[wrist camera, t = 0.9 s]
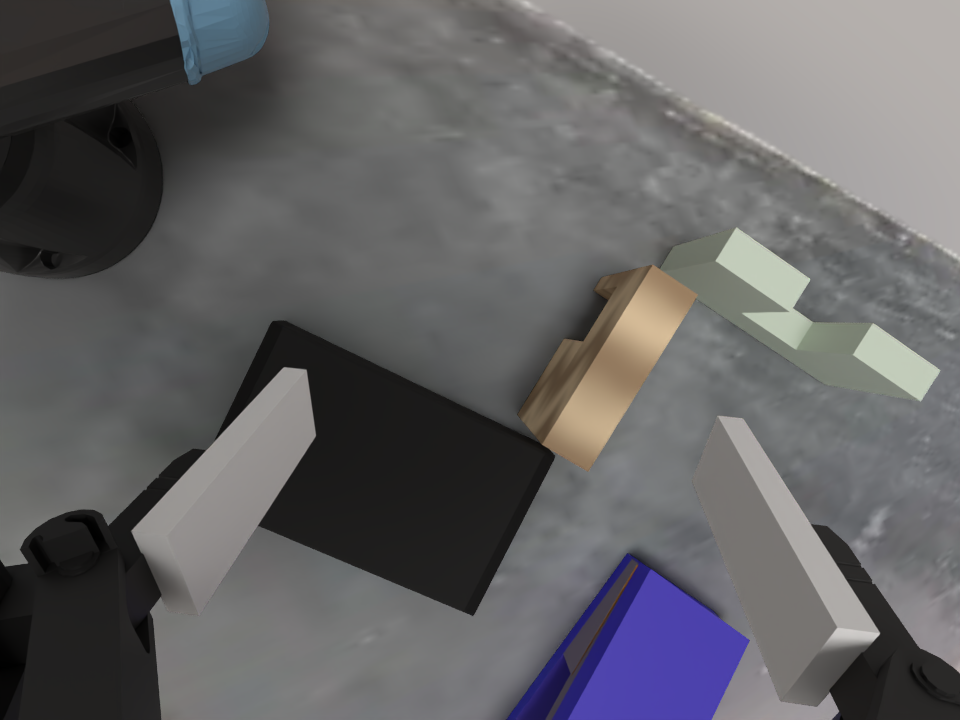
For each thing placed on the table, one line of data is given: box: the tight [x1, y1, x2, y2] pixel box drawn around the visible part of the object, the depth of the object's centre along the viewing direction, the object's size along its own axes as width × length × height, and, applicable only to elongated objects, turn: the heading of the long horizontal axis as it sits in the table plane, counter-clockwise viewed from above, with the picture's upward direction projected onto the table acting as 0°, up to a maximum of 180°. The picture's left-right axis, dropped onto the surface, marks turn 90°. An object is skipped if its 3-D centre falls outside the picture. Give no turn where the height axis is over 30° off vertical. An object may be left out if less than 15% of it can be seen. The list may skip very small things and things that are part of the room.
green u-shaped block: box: [660, 228, 940, 401], centre depth 35 cm, size 18×2×8 cm, turn 59°
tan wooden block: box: [517, 265, 698, 471], centre depth 33 cm, size 13×4×9 cm, turn 149°
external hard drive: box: [214, 321, 555, 616], centre depth 36 cm, size 14×23×3 cm, turn 63°
